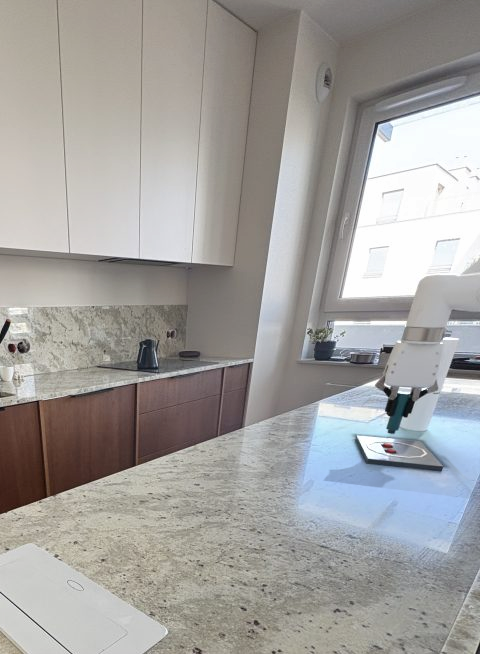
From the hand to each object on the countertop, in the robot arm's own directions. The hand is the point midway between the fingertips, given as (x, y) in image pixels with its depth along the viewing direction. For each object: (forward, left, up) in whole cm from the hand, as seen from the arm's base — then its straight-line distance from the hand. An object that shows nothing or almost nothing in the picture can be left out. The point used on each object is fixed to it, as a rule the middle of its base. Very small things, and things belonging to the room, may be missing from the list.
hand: (396, 415), depth 104 cm
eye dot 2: (0, +4, -9) cm, 10 cm away
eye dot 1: (0, 0, -9) cm, 9 cm away
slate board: (-2, +2, -9) cm, 10 cm away
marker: (0, 0, -5) cm, 5 cm away
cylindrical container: (-12, -27, -9) cm, 31 cm away
